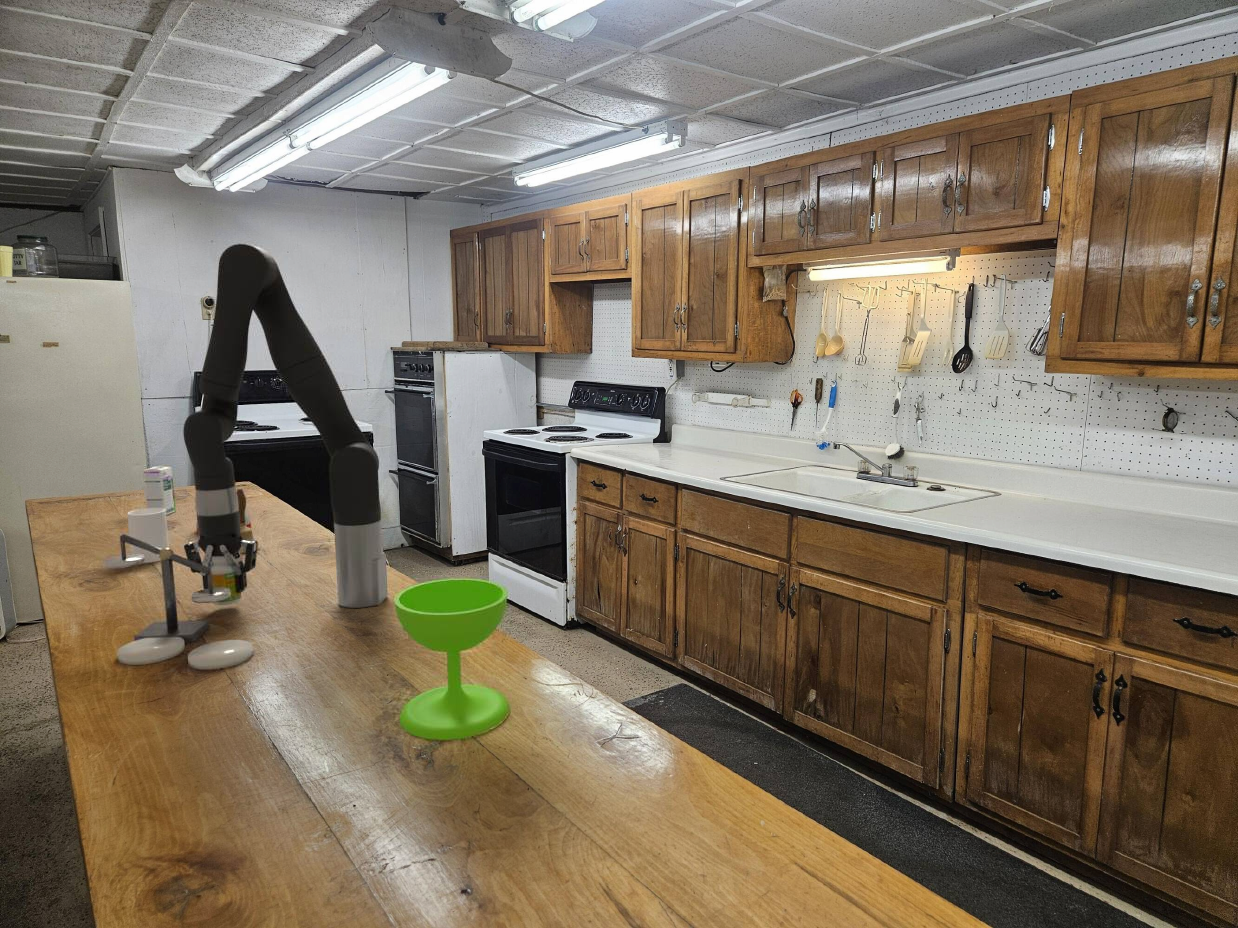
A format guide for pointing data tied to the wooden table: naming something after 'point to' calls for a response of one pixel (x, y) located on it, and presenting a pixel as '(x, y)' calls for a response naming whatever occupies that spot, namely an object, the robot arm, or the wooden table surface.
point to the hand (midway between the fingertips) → (225, 591)
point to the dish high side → (150, 650)
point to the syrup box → (159, 488)
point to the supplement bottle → (224, 579)
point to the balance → (170, 591)
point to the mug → (148, 530)
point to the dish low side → (220, 654)
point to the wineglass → (452, 654)
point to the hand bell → (245, 531)
